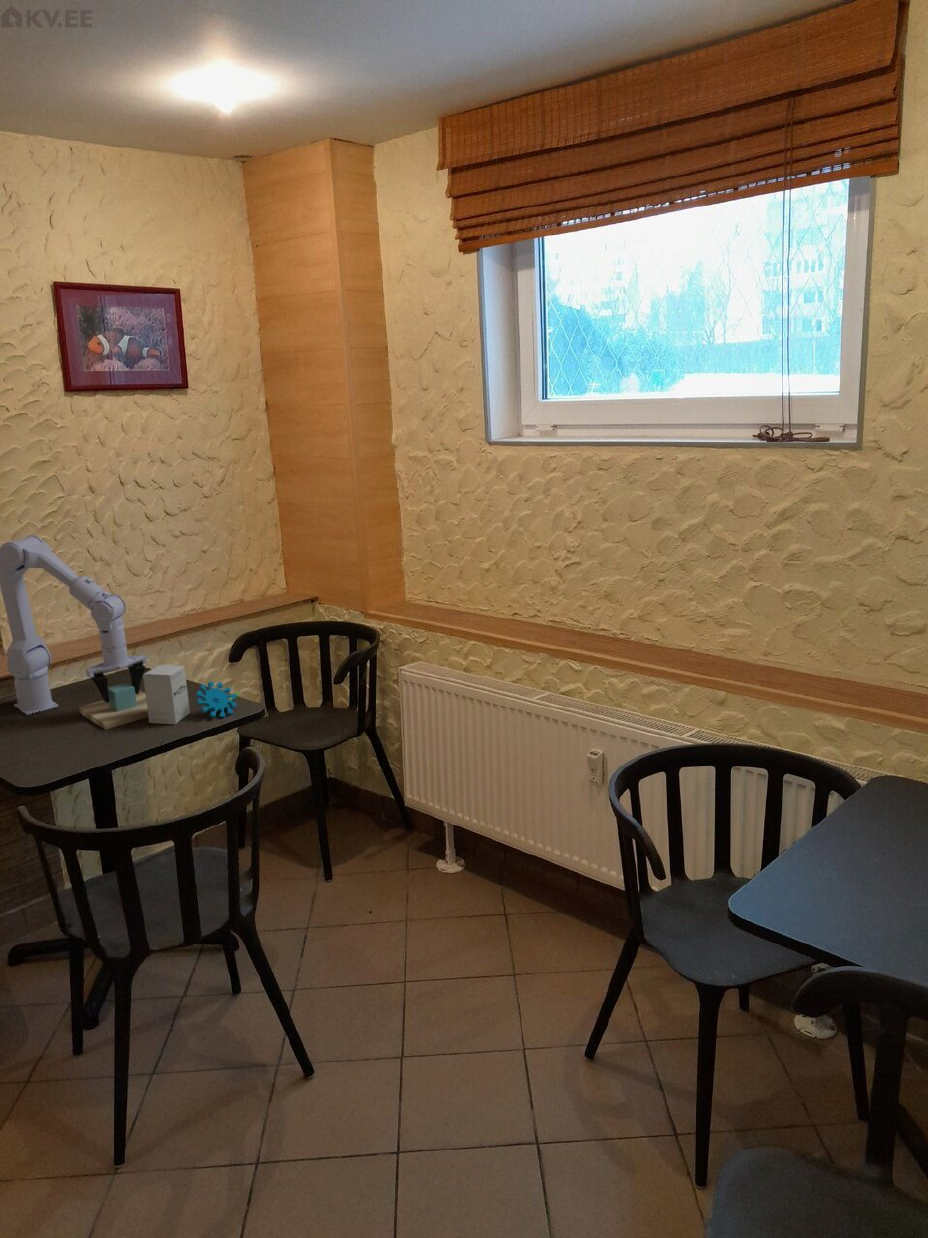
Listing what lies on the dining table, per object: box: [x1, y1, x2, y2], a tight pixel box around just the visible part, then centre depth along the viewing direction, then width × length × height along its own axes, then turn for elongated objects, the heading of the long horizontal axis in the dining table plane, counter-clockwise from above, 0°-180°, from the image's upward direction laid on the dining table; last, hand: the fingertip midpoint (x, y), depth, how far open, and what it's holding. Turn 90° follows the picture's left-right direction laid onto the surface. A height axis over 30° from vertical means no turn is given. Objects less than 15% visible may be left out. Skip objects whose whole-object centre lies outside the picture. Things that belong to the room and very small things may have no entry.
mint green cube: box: [108, 682, 137, 712], centre depth 233 cm, size 5×5×5 cm
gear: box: [195, 681, 240, 718], centre depth 231 cm, size 11×6×10 cm
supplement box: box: [142, 664, 191, 725], centre depth 227 cm, size 7×7×13 cm
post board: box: [78, 690, 149, 730], centre depth 234 cm, size 16×16×5 cm
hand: (121, 697), depth 233 cm, fingers open, 7 cm apart
